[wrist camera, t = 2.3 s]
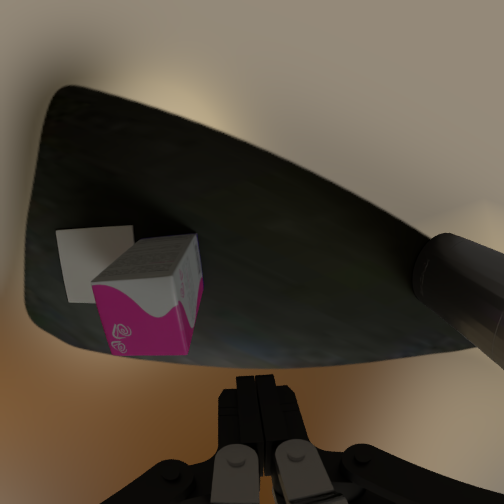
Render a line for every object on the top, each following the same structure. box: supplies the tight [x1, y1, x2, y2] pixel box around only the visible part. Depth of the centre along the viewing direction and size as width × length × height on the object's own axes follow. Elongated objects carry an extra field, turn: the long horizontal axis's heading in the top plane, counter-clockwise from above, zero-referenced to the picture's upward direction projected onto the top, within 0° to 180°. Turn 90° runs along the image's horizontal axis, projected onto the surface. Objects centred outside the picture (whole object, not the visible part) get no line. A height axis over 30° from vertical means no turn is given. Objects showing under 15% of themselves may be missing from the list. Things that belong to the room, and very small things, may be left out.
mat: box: [56, 225, 135, 303], centre depth 28 cm, size 9×8×1 cm
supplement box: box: [91, 233, 204, 356], centre depth 23 cm, size 6×6×12 cm
